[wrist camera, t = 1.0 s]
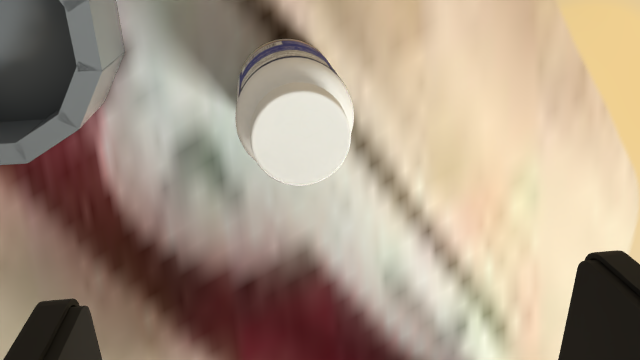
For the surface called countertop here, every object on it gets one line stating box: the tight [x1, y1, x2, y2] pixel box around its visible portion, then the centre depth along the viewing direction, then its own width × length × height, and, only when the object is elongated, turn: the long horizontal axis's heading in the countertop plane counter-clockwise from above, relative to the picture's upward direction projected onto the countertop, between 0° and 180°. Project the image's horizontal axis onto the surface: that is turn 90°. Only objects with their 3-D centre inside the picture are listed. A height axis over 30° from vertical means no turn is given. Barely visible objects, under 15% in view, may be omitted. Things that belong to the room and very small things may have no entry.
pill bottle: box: [236, 39, 354, 186], centre depth 24 cm, size 5×5×9 cm
